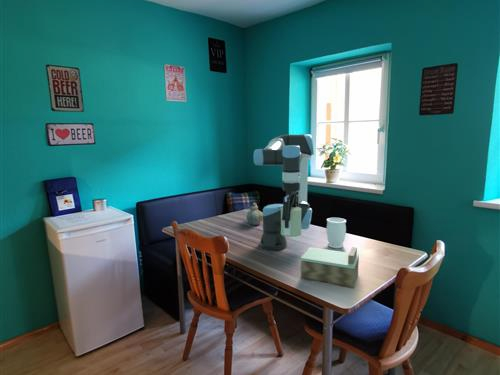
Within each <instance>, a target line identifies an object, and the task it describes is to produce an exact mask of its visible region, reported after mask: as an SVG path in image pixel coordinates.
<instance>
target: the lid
mask: <svg viewBox="0 0 500 375" xmlns="http://www.w3.org/2000/svg"><path fill="white" fill-rule="evenodd" d="M357 249H358V248H357V247H353V246H352V247H351V248H350V251H348V252H347V251H341V250H340V251H339V250H332V249H326V248H319V247H310V246H309V247H308V248H307V250H306V251H305V252H304V253H303V254H302V256H301V257H300V262H301V261H307V262H313V263H320V264H326V265H332V266H338V267H344V268H350V269H354V268H355V266H356V263H357V260H358V257H359V258H360V254H359V253H357V252H358V250H357Z"/></svg>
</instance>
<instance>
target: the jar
mask: <svg viewBox="0 0 500 375" xmlns="http://www.w3.org/2000/svg"><path fill="white" fill-rule="evenodd" d="M346 223H347V219H345V218H341V217H329V218H326V237H327V241H328V243H327V246H328V247H329V248H332V249H342V248H344V242H345V239H346V233H347V226H346Z"/></svg>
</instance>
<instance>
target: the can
mask: <svg viewBox="0 0 500 375" xmlns="http://www.w3.org/2000/svg"><path fill="white" fill-rule="evenodd" d="M301 210H302V209H301V208H300V207H292V209H291V211H290V220H291V235H284V220H282V213H283V207H282V208H281V235H283V236H285V237H287V238H296V237H300V236H301V235H302V229H301Z"/></svg>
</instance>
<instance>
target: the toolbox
mask: <svg viewBox="0 0 500 375" xmlns="http://www.w3.org/2000/svg"><path fill="white" fill-rule="evenodd" d="M359 259H360V256H359V257H358V260H357V263H356V266H355V268H354V269H350V268H344V267H338V266H332V265H326V264H320V263H313V262H307V261H301V260H300V279H302V280H307V281H312V282H319V283H324V284H329V285H333V286H339V287H343V288H350V289H354V288H355V284H356V282H357V278H358V276H359V264H360V263H359V262H360V261H359Z"/></svg>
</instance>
